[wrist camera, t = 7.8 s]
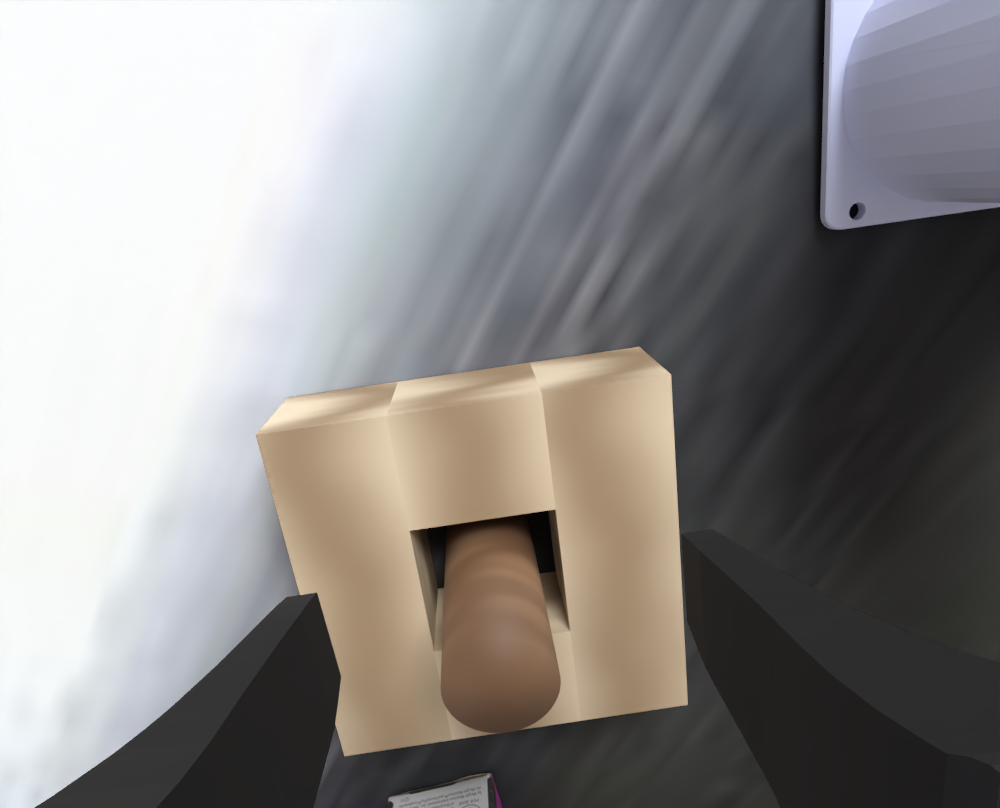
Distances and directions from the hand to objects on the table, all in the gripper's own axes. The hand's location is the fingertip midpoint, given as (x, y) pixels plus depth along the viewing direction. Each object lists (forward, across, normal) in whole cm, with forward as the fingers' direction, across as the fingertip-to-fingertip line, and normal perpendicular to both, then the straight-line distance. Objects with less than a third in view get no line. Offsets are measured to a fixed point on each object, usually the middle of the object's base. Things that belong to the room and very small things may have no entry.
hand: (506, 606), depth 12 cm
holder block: (+10, +1, +4) cm, 11 cm away
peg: (+10, +1, +4) cm, 11 cm away
